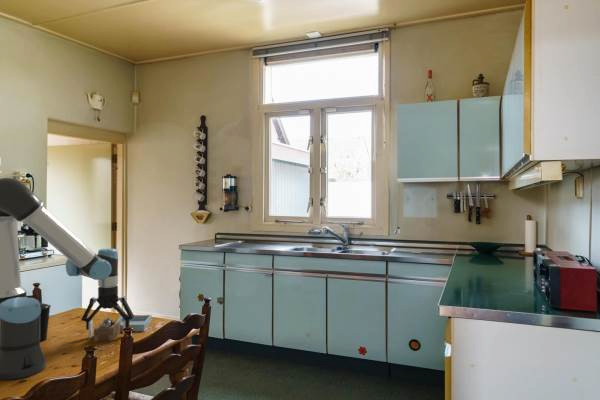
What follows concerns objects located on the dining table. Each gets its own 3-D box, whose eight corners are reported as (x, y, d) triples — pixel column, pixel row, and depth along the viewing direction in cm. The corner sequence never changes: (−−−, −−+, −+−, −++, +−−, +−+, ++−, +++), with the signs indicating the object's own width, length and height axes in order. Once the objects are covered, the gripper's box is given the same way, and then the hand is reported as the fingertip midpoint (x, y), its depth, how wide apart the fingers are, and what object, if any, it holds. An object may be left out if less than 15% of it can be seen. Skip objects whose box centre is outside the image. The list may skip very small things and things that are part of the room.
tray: (144, 331, 183) (144, 324, 183) (111, 332, 181) (111, 325, 181) (151, 321, 198) (151, 314, 198) (121, 322, 197) (121, 315, 197)
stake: (109, 339, 172) (109, 319, 172) (101, 339, 172) (102, 319, 172) (111, 336, 176) (111, 317, 176) (104, 336, 176) (104, 317, 176)
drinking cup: (53, 340, 171) (53, 291, 171) (31, 344, 165) (31, 294, 165) (47, 336, 176) (47, 288, 176) (26, 340, 170) (26, 291, 170)
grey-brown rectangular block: (113, 340, 170) (113, 326, 170) (93, 341, 169) (94, 326, 169) (120, 332, 181) (120, 318, 181) (102, 333, 180) (102, 319, 180)
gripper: (141, 283, 181) (141, 332, 181) (79, 284, 177) (79, 334, 177) (136, 286, 173) (136, 338, 173) (72, 288, 170) (72, 340, 170)
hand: (107, 336), depth 175 cm, fingers open, 13 cm apart
